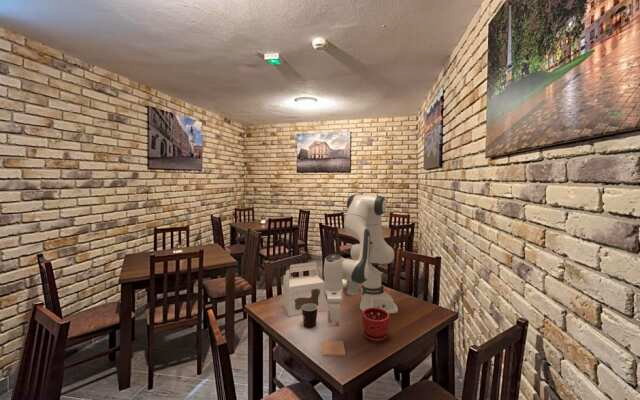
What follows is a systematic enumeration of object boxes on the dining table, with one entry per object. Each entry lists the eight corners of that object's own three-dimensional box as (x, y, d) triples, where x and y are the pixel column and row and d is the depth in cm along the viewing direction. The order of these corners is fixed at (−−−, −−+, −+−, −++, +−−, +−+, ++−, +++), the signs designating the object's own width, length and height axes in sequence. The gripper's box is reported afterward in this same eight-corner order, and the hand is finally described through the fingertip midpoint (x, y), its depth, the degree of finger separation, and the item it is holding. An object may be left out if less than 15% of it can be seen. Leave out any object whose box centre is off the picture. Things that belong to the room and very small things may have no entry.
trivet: (343, 342, 136) (343, 341, 136) (345, 355, 126) (345, 354, 126) (322, 342, 135) (322, 341, 135) (322, 355, 125) (322, 354, 125)
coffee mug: (302, 321, 156) (302, 303, 156) (318, 321, 156) (318, 303, 155) (300, 332, 145) (300, 313, 144) (317, 332, 144) (317, 313, 144)
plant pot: (356, 336, 141) (356, 313, 140) (372, 326, 150) (372, 304, 149) (379, 347, 132) (379, 322, 131) (394, 336, 141) (394, 313, 140)
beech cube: (338, 321, 132) (338, 310, 132) (339, 326, 127) (339, 315, 127) (327, 321, 132) (327, 310, 132) (328, 326, 127) (328, 315, 127)
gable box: (288, 316, 161) (287, 268, 159) (283, 307, 174) (282, 262, 171) (324, 310, 169) (324, 264, 167) (317, 301, 181) (317, 258, 179)
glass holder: (360, 294, 191) (360, 273, 190) (339, 294, 191) (339, 273, 190) (358, 289, 200) (358, 268, 199) (338, 289, 200) (338, 269, 199)
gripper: (325, 282, 139) (325, 310, 140) (327, 300, 118) (327, 332, 119) (338, 282, 139) (338, 309, 140) (342, 300, 118) (342, 332, 119)
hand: (333, 320), depth 129 cm, fingers closed on beech cube, 5 cm apart
